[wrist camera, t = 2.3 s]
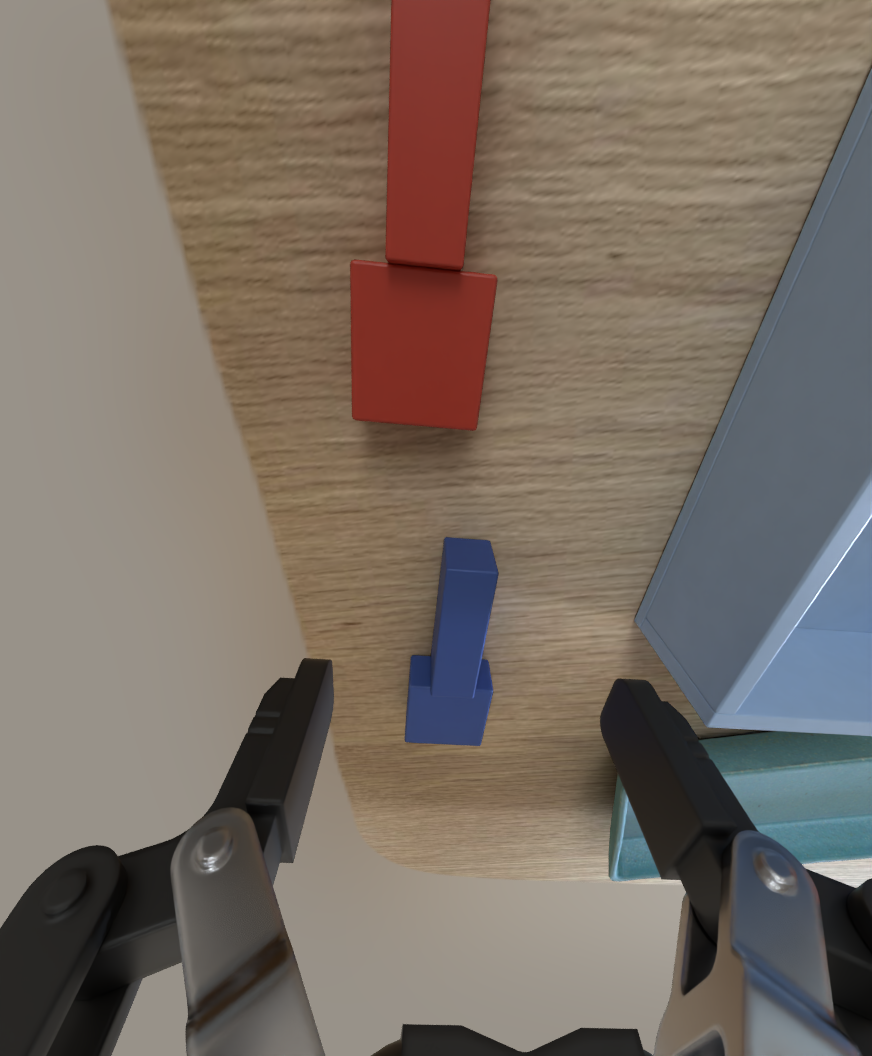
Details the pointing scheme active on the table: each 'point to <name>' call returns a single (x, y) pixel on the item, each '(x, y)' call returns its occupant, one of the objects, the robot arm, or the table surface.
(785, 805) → the rectangular tray
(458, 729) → the blue stepped block
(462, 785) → the table surface
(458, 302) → the red mallet block
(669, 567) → the blue bin
